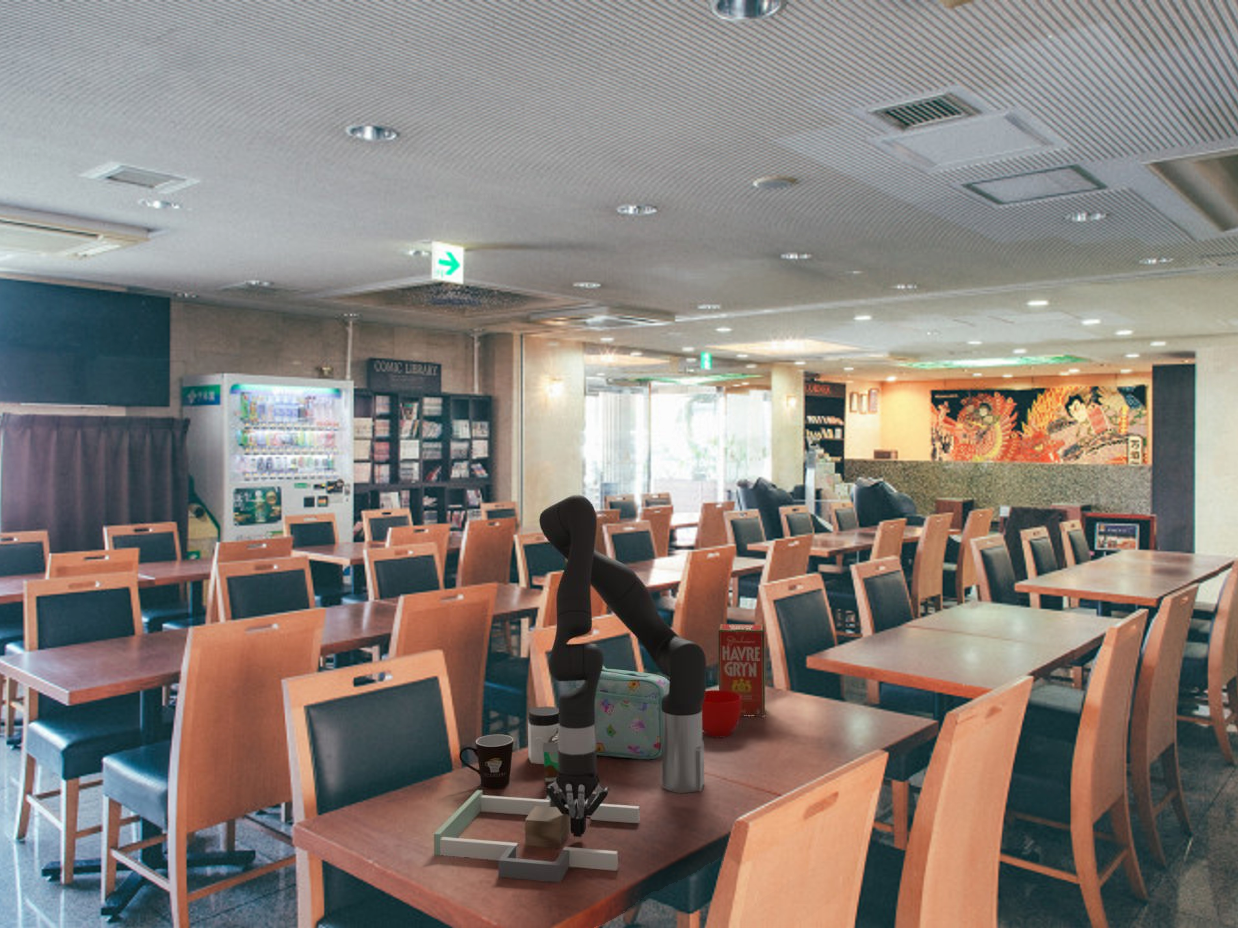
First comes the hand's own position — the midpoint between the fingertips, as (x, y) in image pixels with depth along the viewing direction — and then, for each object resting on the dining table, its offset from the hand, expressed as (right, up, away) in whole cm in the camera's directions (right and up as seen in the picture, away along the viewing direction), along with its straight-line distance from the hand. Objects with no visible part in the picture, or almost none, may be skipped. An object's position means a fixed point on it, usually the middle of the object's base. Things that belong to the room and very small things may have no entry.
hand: (578, 834), depth 174 cm
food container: (-5, -1, +34) cm, 34 cm away
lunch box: (+8, -1, +51) cm, 52 cm away
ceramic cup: (+33, 0, +67) cm, 74 cm away
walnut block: (-6, -1, +1) cm, 6 cm away
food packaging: (+44, 0, +86) cm, 97 cm away
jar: (-10, -1, +47) cm, 49 cm away
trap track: (-8, -1, +2) cm, 8 cm away
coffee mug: (-22, -1, +32) cm, 38 cm away
